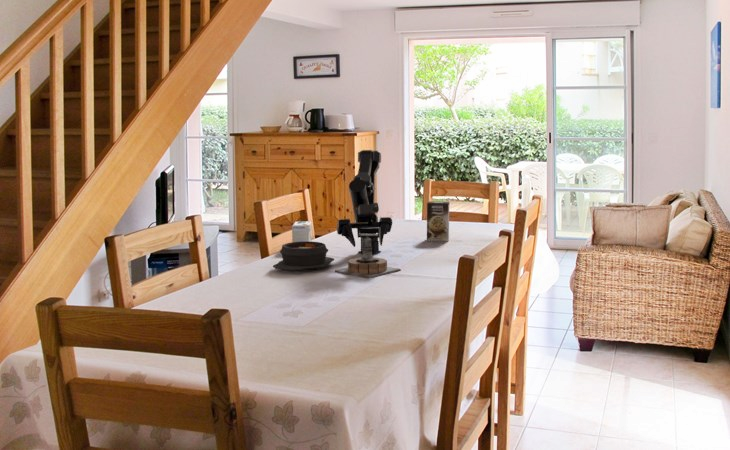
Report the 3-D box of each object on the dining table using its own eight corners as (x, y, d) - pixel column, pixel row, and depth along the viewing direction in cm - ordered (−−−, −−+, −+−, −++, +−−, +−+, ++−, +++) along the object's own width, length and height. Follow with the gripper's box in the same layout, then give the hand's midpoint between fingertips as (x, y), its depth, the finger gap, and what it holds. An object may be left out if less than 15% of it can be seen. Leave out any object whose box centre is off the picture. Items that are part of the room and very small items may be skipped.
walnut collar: (334, 271, 279) (334, 261, 278) (366, 264, 290) (366, 254, 290) (369, 278, 268) (368, 267, 267) (400, 270, 280) (400, 260, 279)
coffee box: (426, 241, 337) (426, 202, 335) (427, 238, 344) (427, 200, 341) (448, 241, 336) (448, 203, 333) (449, 239, 342) (449, 201, 340)
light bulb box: (295, 247, 327) (294, 221, 325) (312, 247, 327) (311, 220, 325) (292, 252, 317) (291, 225, 315) (309, 252, 316) (308, 224, 315)
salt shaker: (374, 271, 276) (373, 236, 274) (357, 270, 277) (356, 236, 275) (377, 267, 282) (377, 233, 280) (361, 267, 283) (360, 233, 281)
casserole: (306, 259, 302) (305, 237, 300) (346, 265, 291) (346, 241, 290) (260, 271, 281) (259, 247, 280) (302, 277, 271) (301, 252, 269)
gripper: (337, 195, 277) (343, 232, 268) (391, 193, 281) (398, 230, 272) (334, 215, 286) (340, 252, 277) (386, 213, 290) (393, 249, 281)
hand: (368, 245), depth 276 cm, fingers open, 9 cm apart
